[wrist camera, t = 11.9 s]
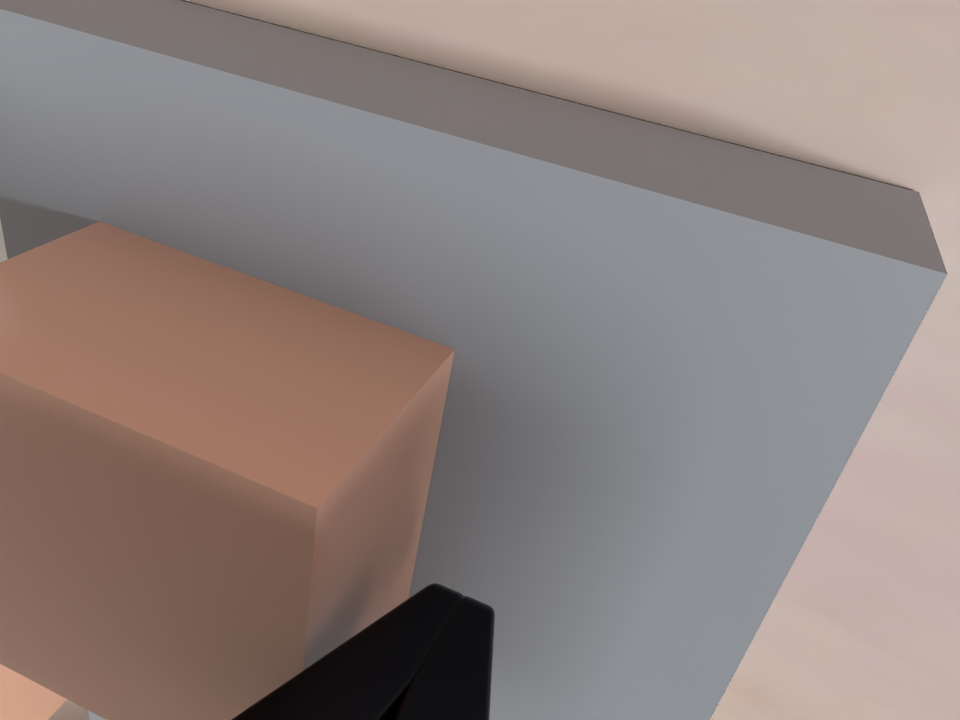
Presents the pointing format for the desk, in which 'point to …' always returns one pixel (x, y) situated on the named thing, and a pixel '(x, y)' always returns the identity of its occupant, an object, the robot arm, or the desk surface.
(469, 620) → the robot arm
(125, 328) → the tile
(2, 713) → the tile
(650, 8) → the desk surface
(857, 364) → the bench board
